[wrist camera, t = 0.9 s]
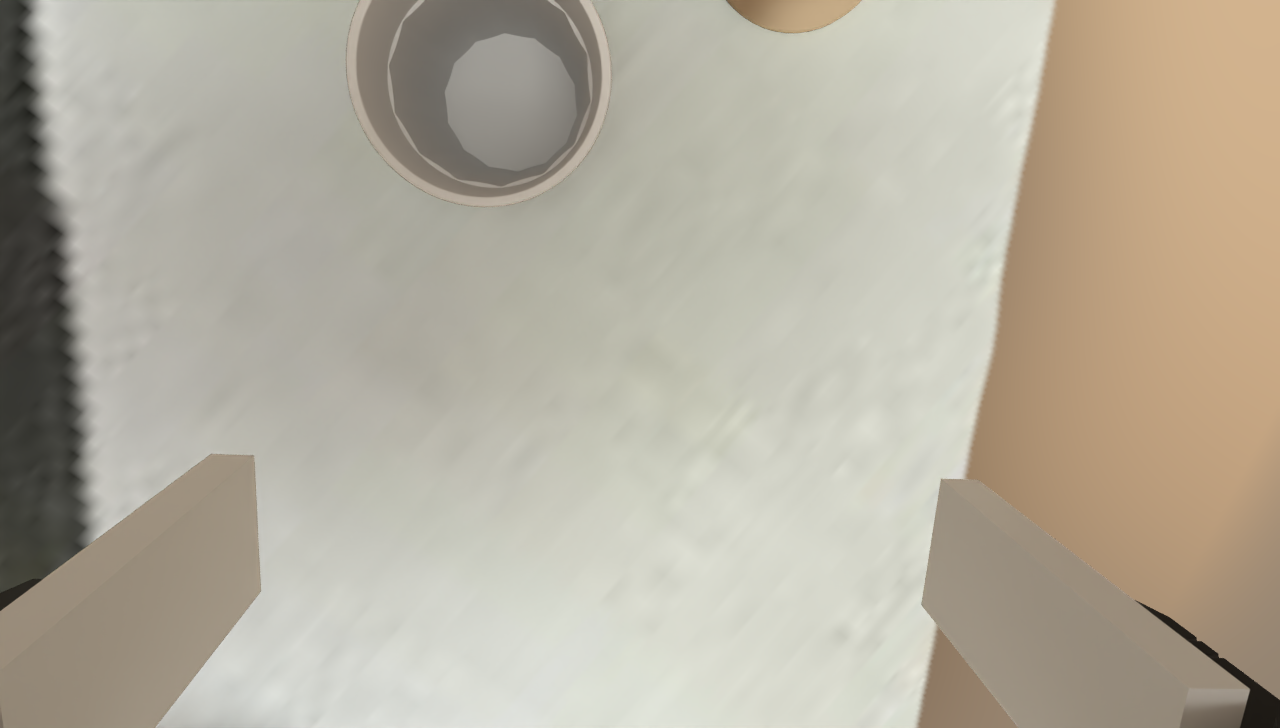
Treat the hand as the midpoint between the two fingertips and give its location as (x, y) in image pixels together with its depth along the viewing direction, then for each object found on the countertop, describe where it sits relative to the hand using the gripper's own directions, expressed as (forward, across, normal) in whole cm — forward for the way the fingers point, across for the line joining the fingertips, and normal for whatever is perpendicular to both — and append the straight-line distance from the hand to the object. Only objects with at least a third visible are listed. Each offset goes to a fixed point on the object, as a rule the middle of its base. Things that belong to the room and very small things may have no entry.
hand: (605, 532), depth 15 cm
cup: (+24, -4, +10) cm, 26 cm away
